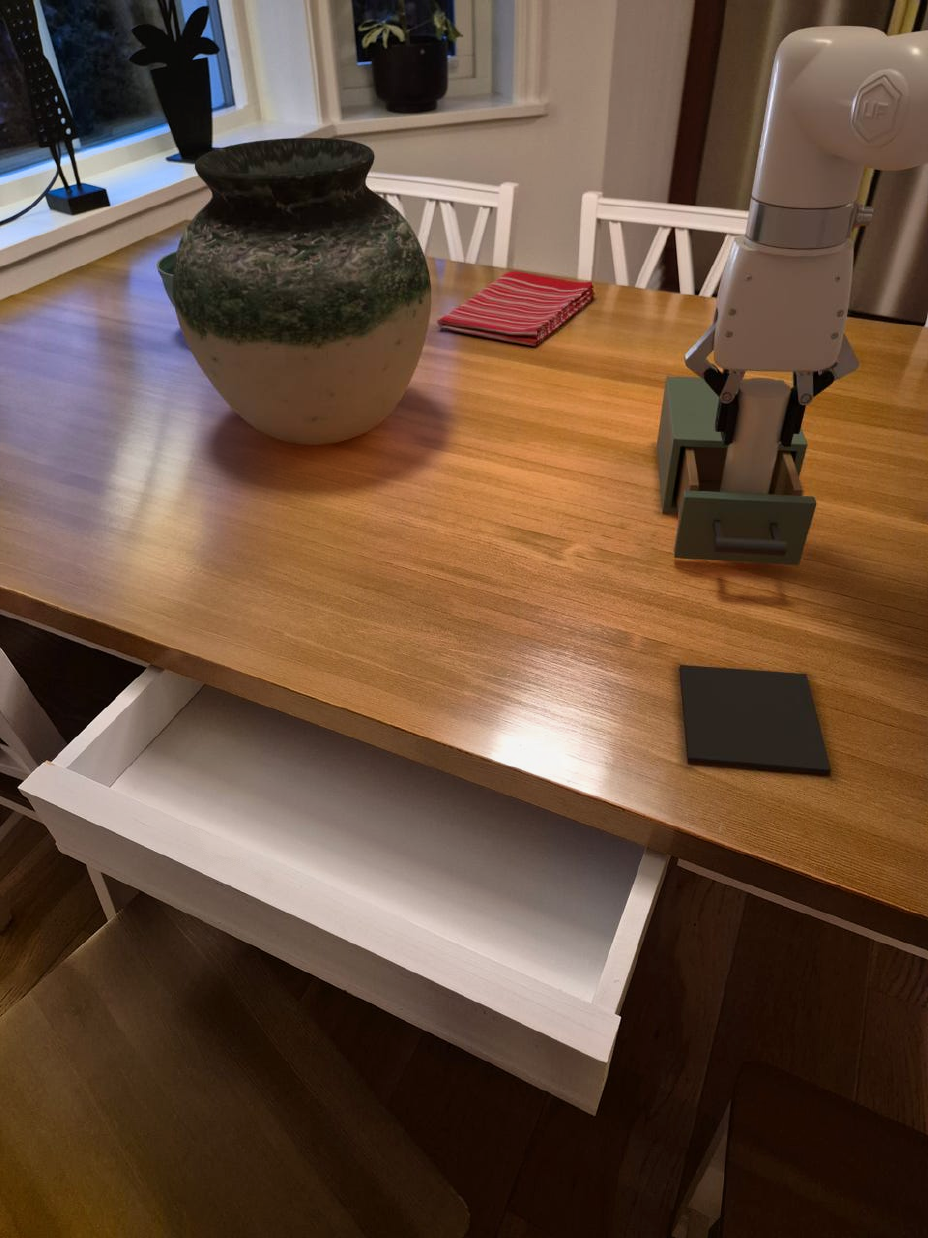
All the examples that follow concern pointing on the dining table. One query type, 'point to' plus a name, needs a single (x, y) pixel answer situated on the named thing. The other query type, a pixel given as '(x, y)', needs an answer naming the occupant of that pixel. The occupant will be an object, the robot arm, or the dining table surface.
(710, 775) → the dining table surface
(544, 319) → the dish towel
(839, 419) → the dining table surface
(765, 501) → the drawer
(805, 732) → the mat
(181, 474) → the dining table surface
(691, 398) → the cabinet
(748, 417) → the cylinder
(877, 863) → the dining table surface
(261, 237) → the vase
